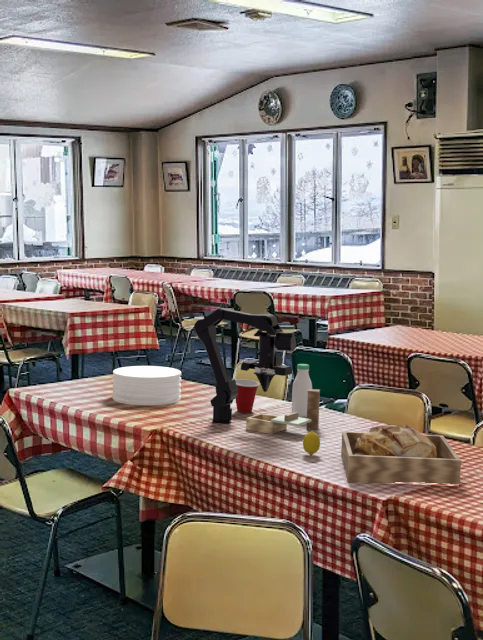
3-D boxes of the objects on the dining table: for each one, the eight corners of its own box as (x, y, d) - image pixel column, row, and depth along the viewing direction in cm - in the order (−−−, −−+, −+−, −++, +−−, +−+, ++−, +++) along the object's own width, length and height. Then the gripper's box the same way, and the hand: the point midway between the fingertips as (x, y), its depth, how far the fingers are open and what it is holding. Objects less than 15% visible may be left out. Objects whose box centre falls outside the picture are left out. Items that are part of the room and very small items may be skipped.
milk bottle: (309, 418, 354) (311, 366, 352) (289, 416, 356) (291, 365, 354) (312, 414, 362) (314, 363, 360) (292, 412, 363) (294, 362, 361)
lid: (270, 421, 327) (270, 413, 326) (284, 416, 335) (285, 409, 335) (297, 426, 321) (298, 418, 320) (311, 421, 329) (311, 413, 329)
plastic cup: (247, 415, 355) (248, 385, 354) (225, 411, 362) (226, 381, 360) (264, 411, 364) (265, 381, 362) (242, 407, 370) (243, 377, 369)
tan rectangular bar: (306, 428, 336) (307, 390, 335) (307, 426, 340) (309, 388, 339) (317, 429, 336) (318, 391, 334) (318, 427, 340) (320, 389, 338)
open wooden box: (246, 429, 332) (246, 417, 332) (260, 424, 341) (260, 413, 340) (272, 434, 327) (272, 422, 326) (286, 428, 335) (286, 417, 335)
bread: (344, 462, 298) (342, 417, 296) (428, 457, 299) (427, 412, 297) (355, 486, 273) (353, 436, 271) (447, 480, 274) (446, 431, 272)
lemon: (301, 453, 302) (302, 429, 301) (318, 453, 302) (319, 429, 301) (303, 457, 296) (304, 433, 295) (320, 457, 297) (321, 433, 296)
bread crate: (347, 482, 270) (348, 455, 269) (341, 455, 300) (342, 431, 299) (459, 487, 268) (461, 460, 268) (441, 459, 299) (443, 435, 298)
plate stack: (193, 398, 387) (194, 371, 385) (152, 408, 363) (153, 380, 362) (141, 389, 402) (141, 363, 400) (98, 399, 378) (98, 371, 377)
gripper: (300, 349, 336) (298, 391, 338) (256, 344, 346) (255, 385, 348) (284, 352, 327) (283, 396, 328) (240, 347, 337) (239, 389, 338)
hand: (265, 391), depth 336 cm, fingers closed
